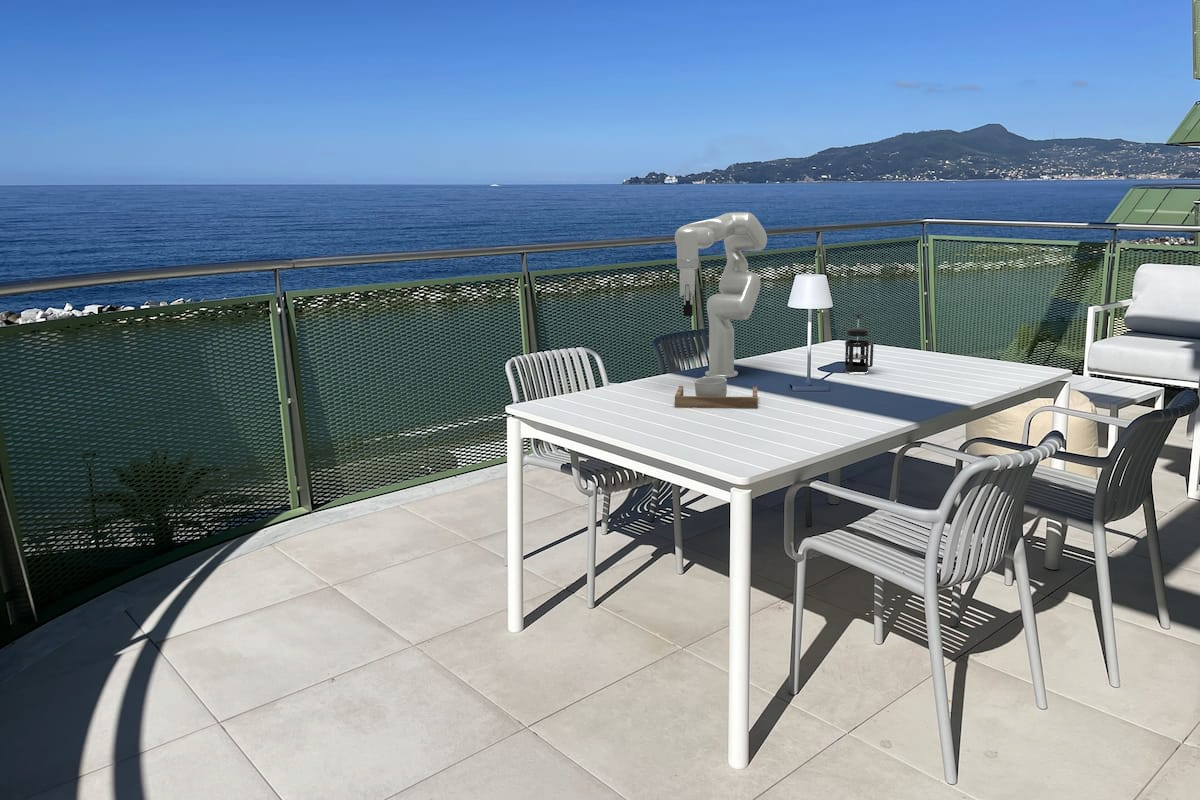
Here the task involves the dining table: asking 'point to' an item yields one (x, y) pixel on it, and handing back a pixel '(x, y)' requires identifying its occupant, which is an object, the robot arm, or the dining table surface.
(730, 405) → the walnut bay
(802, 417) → the dining table surface
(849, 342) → the french press
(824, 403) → the dining table surface
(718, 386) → the teacup
